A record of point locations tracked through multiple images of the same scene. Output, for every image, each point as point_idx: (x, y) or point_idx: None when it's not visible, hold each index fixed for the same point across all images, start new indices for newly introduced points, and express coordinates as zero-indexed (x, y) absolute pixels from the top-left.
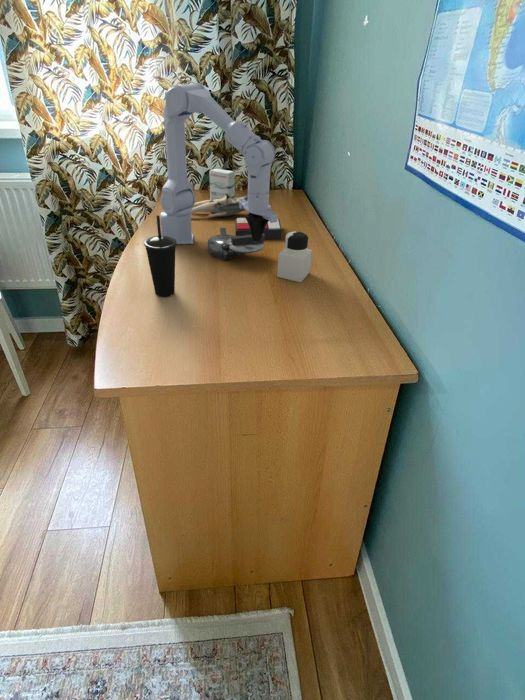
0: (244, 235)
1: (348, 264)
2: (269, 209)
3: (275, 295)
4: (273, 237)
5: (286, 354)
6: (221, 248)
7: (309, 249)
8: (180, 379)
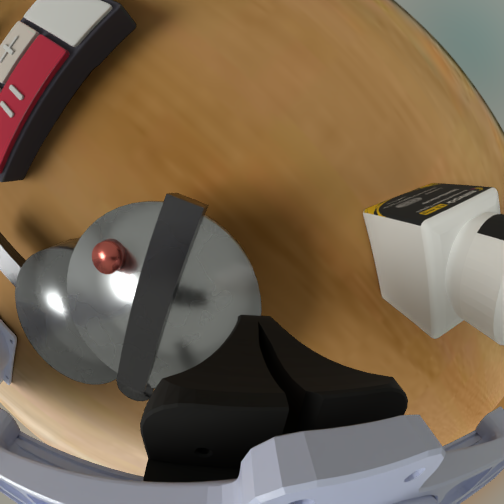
0: (129, 322)
1: (442, 49)
2: (451, 481)
3: (422, 363)
4: (109, 47)
5: (473, 416)
6: None
7: (496, 199)
8: None
